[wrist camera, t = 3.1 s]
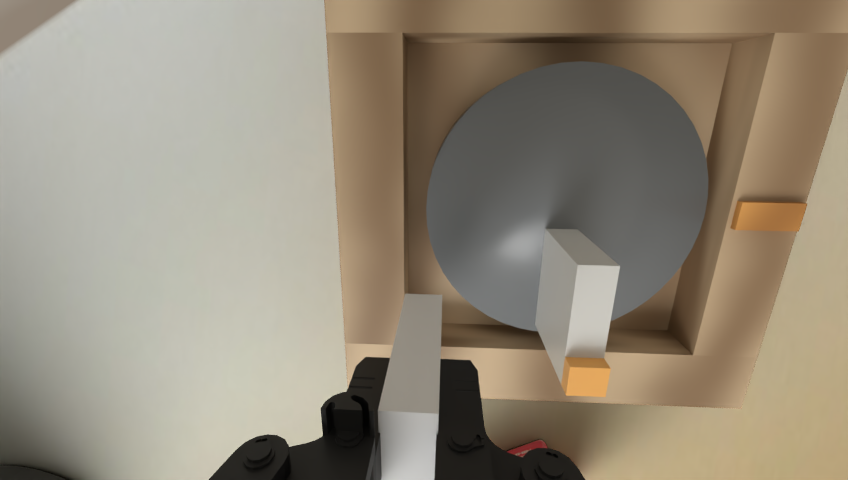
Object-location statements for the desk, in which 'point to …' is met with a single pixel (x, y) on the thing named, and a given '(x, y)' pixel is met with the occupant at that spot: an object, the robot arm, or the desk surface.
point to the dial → (567, 206)
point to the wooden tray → (615, 45)
